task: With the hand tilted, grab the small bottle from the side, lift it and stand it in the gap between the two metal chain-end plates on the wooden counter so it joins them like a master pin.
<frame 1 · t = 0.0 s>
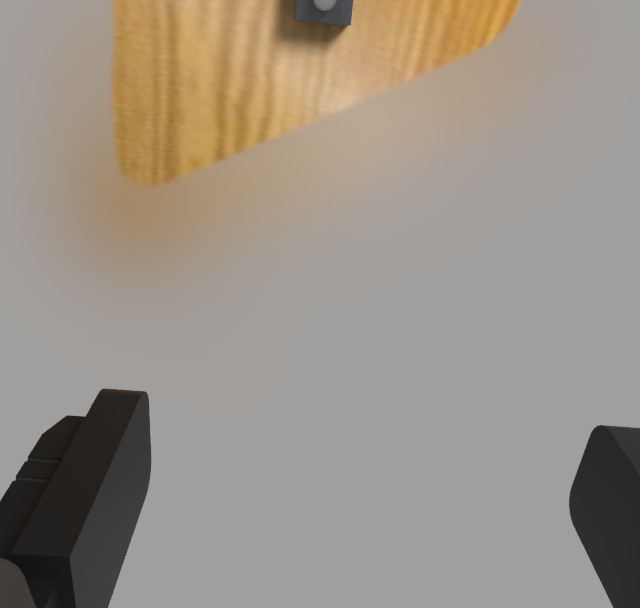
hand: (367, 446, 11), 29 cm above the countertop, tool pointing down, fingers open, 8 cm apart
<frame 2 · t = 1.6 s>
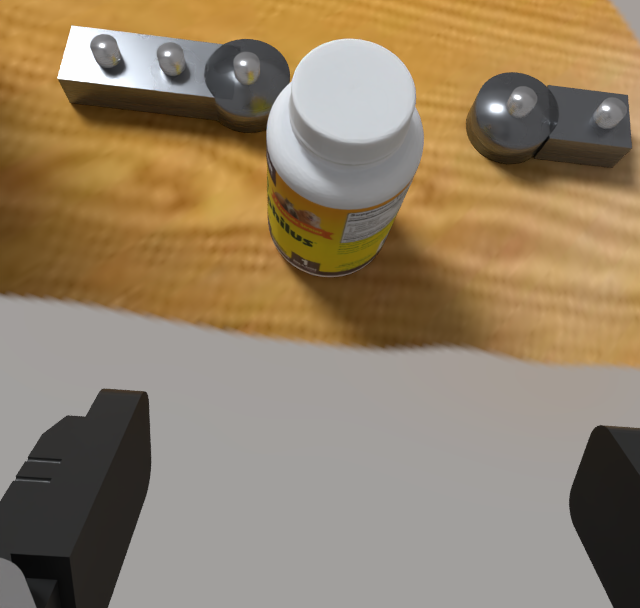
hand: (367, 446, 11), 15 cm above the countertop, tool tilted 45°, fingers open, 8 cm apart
chain end 2: (158, 86, 30), on the countertop
supplement bottle: (326, 228, 29), on the countertop
chain end 1: (552, 134, 31), on the countertop
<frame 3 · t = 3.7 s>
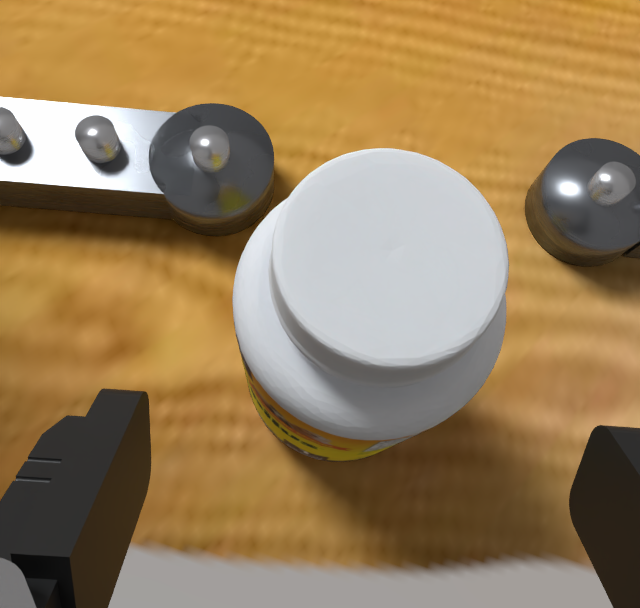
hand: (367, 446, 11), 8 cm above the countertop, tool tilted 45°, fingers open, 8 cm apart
chain end 2: (86, 172, 21), on the countertop
supplement bottle: (334, 377, 20), on the countertop
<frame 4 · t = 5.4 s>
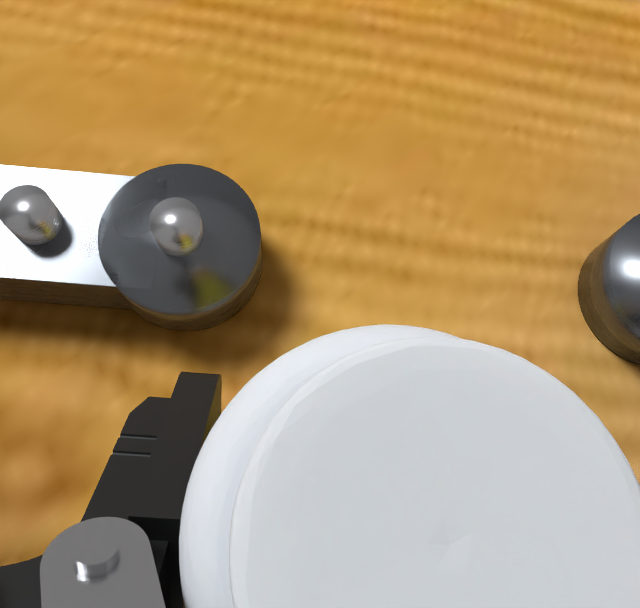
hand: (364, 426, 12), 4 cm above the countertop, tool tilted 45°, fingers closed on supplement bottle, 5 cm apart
chain end 2: (24, 248, 17), on the countertop
supplement bottle: (338, 520, 15), on the countertop, touching gripper
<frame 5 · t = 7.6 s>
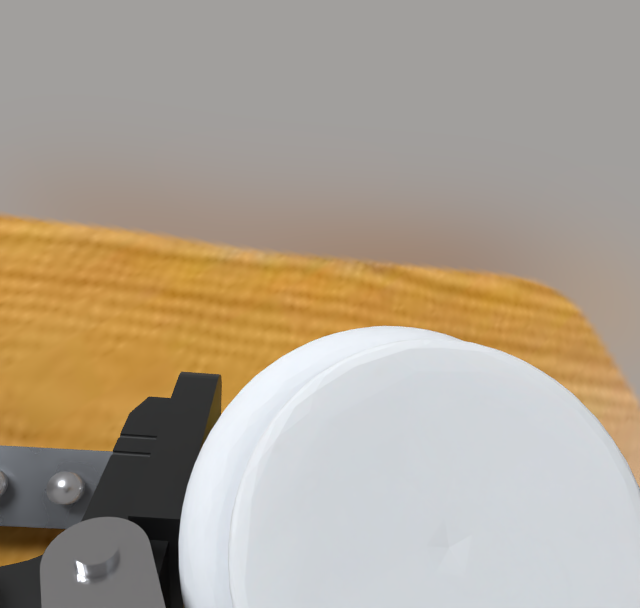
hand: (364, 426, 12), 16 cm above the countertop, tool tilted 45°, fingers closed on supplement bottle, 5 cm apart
chain end 2: (59, 488, 26), on the countertop
supplement bottle: (338, 521, 15), point 12 cm above the countertop, touching gripper
when the fingers open (6 cm above the countertop, at t = 10.1 s): supplement bottle drops 1 cm, on the countertop.
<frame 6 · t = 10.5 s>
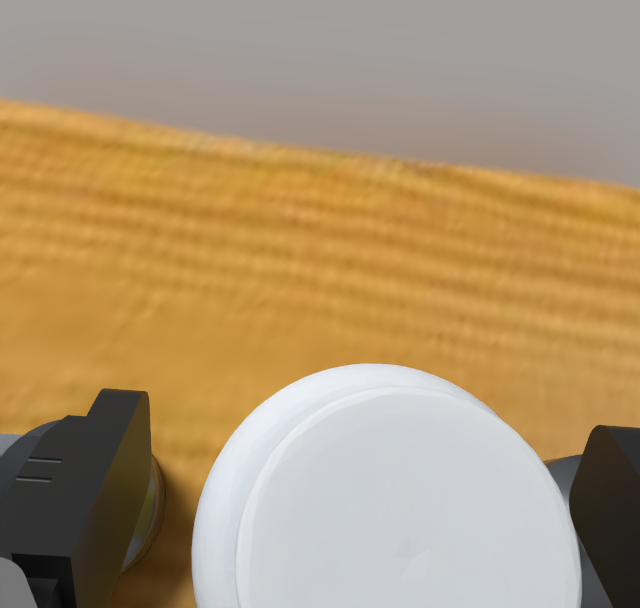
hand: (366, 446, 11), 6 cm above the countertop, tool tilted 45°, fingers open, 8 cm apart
supplement bottle: (333, 527, 17), on the countertop
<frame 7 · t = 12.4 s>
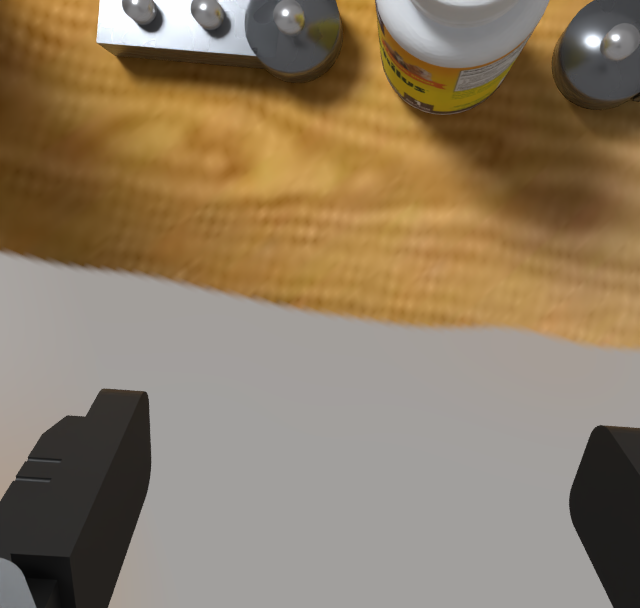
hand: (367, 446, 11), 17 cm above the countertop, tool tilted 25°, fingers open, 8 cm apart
chain end 2: (201, 29, 28), on the countertop
supplement bottle: (445, 55, 27), on the countertop
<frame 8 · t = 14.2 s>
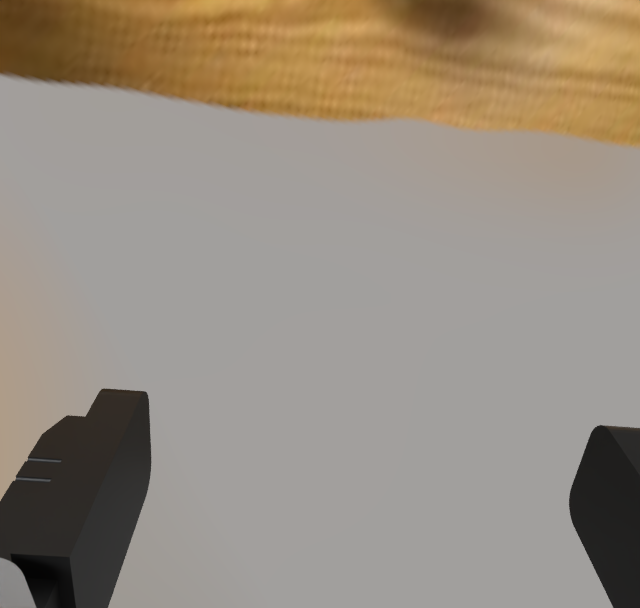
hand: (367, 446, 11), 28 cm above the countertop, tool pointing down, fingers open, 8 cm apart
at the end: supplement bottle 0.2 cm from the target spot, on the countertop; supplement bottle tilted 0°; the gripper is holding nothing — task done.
